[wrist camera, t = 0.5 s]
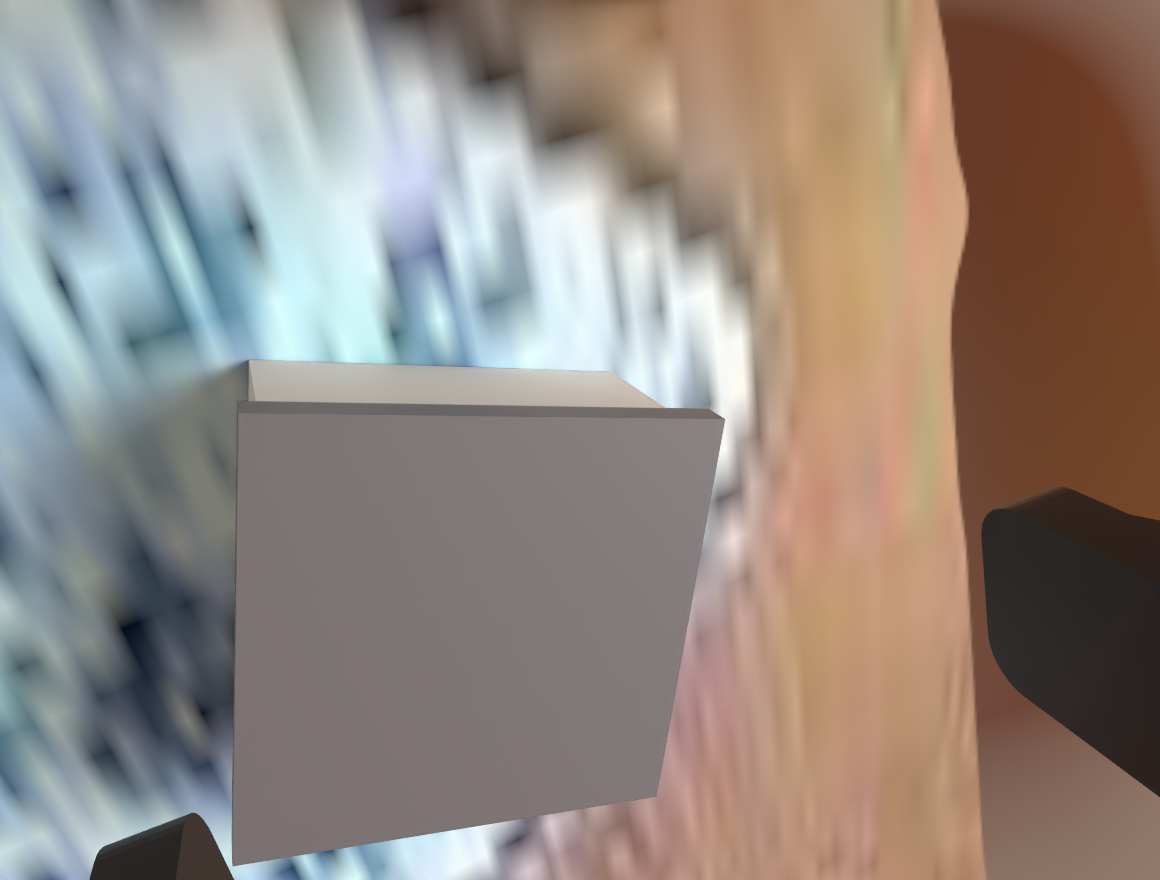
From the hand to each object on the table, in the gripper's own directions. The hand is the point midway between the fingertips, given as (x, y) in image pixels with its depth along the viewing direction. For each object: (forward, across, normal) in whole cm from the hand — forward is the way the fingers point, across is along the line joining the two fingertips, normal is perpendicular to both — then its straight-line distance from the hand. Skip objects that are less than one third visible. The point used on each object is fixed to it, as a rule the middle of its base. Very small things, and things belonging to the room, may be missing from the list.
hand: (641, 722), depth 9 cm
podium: (+22, +1, +7) cm, 24 cm away
